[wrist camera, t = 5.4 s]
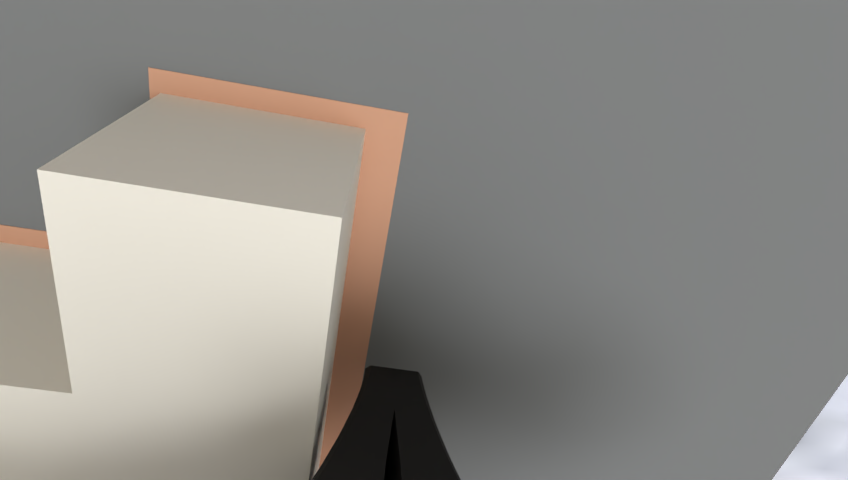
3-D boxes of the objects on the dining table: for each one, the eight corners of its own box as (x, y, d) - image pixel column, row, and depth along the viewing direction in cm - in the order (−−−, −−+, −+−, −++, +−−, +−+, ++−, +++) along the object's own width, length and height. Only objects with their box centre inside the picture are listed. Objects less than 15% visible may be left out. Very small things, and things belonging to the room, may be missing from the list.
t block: (365, 128, 11) (342, 217, 8) (313, 508, 17) (286, 659, 13) (-297, 13, 10) (-683, 56, 6) (-114, 462, 16) (-268, 615, 12)
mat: (1099, -10, 10) (1124, -8, 10) (656, 621, 21) (661, 633, 20) (-641, -404, 8) (-692, -420, 7) (-153, 546, 18) (-165, 559, 18)
